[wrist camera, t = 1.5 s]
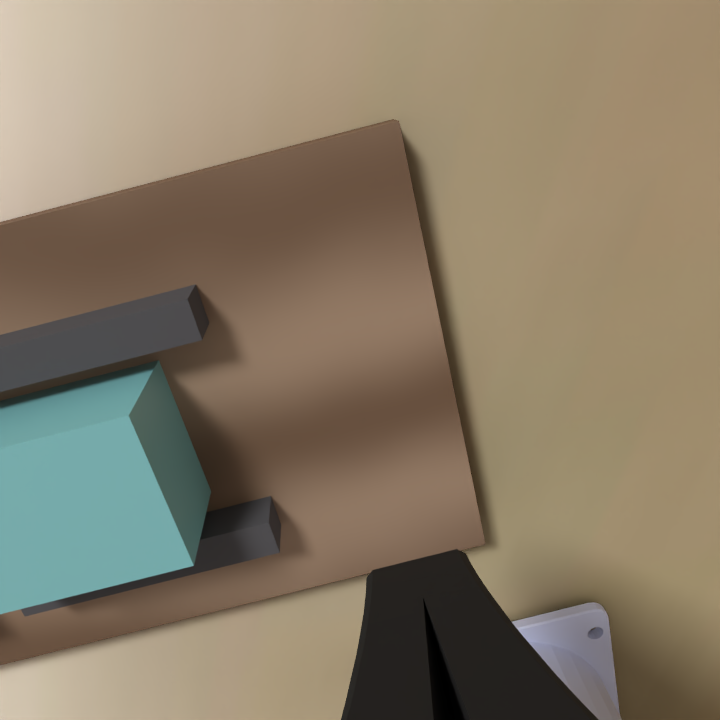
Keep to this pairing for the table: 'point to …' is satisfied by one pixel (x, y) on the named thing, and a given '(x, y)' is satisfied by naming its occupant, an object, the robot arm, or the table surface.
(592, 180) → the table surface
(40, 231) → the base board
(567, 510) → the table surface
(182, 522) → the plug
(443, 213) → the table surface
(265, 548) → the grey blocks
